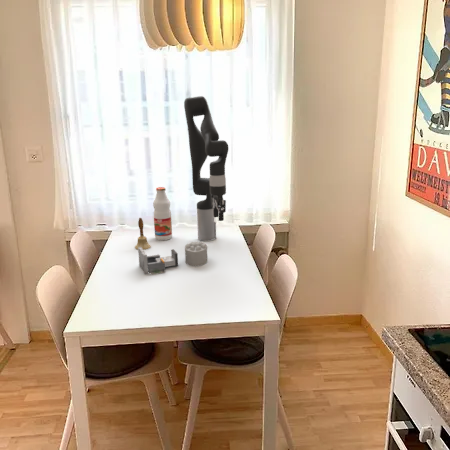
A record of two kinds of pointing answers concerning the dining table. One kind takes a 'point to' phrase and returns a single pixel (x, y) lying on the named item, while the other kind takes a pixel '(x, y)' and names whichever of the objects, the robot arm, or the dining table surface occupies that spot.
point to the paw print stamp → (196, 253)
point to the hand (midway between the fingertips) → (218, 218)
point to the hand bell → (142, 237)
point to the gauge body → (150, 263)
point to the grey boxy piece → (169, 259)
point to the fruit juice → (162, 215)
